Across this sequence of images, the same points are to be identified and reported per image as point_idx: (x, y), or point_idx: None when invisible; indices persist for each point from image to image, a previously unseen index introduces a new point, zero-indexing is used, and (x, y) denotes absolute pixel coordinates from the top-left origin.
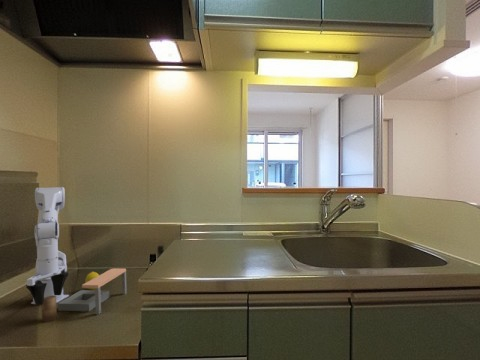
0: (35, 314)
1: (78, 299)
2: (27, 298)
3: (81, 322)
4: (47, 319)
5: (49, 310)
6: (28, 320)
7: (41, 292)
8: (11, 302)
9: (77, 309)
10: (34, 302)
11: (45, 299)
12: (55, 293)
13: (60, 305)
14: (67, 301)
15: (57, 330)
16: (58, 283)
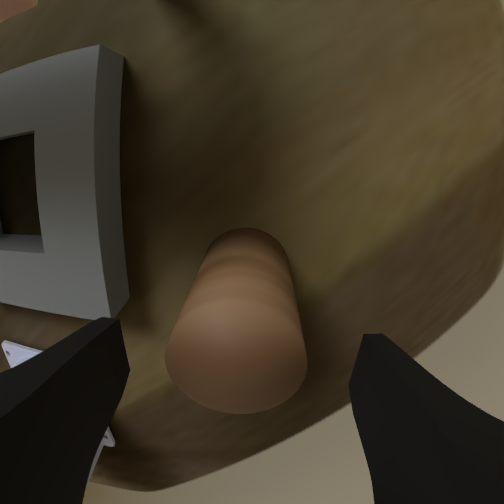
0: None
1: (16, 242)
2: None
3: (289, 4)
4: (287, 260)
5: (284, 276)
6: None
7: (486, 416)
8: (128, 486)
9: (114, 149)
10: (107, 439)
11: (272, 378)
12: (121, 372)
13: (113, 295)
14: (70, 272)
15: (397, 104)
16: (57, 430)
